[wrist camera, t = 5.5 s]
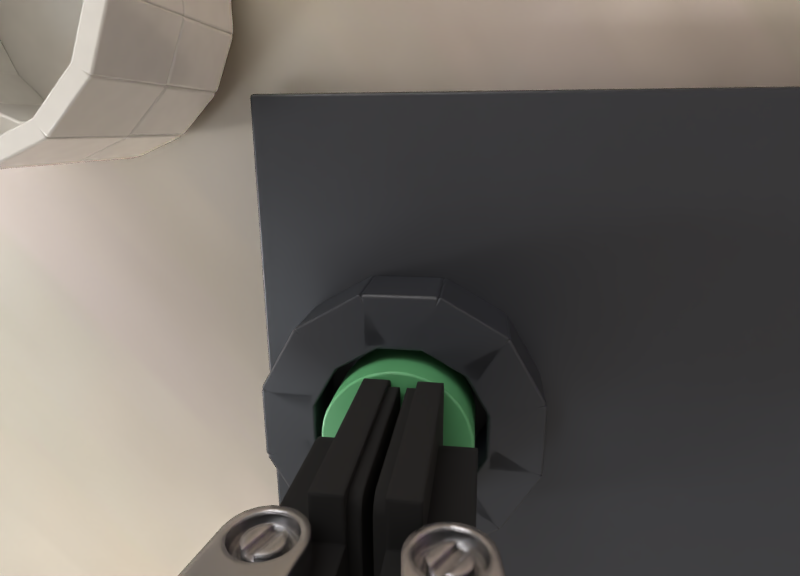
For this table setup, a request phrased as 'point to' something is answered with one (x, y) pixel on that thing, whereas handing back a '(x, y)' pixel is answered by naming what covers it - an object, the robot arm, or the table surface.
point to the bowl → (105, 75)
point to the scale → (557, 305)
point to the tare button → (405, 373)
